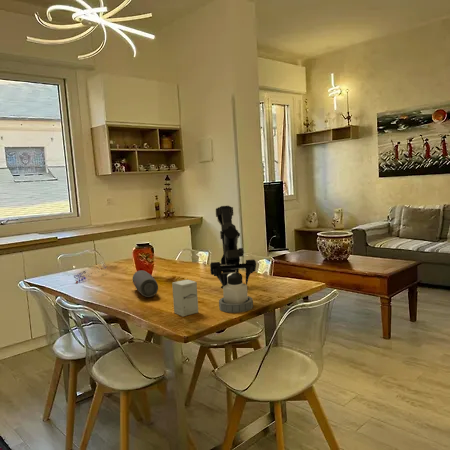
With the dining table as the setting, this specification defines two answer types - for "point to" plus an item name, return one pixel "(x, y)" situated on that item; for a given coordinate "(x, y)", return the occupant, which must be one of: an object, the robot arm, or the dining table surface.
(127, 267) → the dining table surface
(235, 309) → the round dish
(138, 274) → the bluetooth speaker
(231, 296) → the medicine bottle
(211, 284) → the dining table surface
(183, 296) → the supplement box
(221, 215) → the robot arm
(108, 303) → the dining table surface
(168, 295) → the dining table surface
